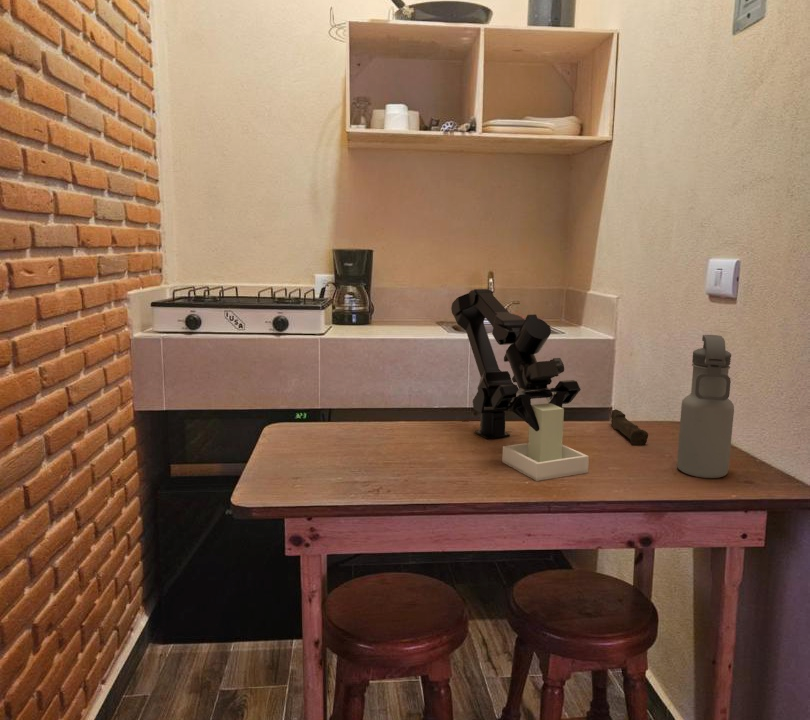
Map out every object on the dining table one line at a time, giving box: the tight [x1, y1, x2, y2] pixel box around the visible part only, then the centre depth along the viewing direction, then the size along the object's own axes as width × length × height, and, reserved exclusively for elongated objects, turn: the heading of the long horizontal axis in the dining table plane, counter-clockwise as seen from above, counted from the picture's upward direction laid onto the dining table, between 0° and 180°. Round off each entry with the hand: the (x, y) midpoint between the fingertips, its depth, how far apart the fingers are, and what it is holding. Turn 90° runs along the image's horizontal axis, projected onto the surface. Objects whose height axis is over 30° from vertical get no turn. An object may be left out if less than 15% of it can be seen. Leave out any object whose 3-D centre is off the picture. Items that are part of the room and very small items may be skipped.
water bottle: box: [676, 334, 735, 479], centre depth 135 cm, size 10×10×28 cm
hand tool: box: [610, 408, 649, 446], centre depth 164 cm, size 19×4×5 cm, turn 179°
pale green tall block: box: [528, 402, 565, 462], centre depth 139 cm, size 5×5×11 cm
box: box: [501, 442, 590, 482], centre depth 140 cm, size 13×13×4 cm
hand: (549, 429), depth 137 cm, fingers closed on pale green tall block, 5 cm apart
